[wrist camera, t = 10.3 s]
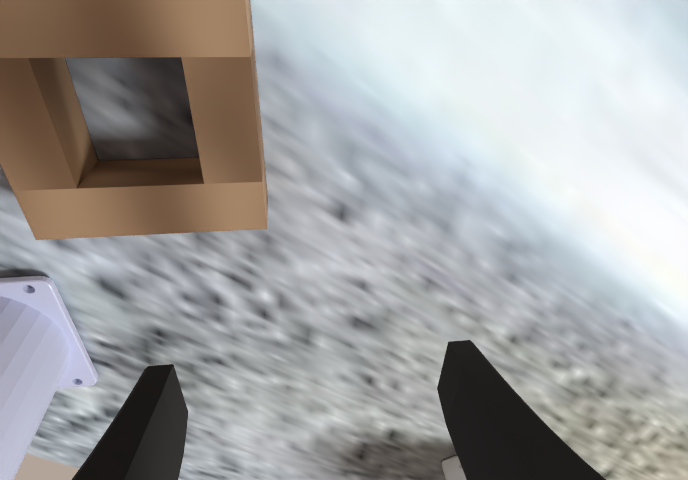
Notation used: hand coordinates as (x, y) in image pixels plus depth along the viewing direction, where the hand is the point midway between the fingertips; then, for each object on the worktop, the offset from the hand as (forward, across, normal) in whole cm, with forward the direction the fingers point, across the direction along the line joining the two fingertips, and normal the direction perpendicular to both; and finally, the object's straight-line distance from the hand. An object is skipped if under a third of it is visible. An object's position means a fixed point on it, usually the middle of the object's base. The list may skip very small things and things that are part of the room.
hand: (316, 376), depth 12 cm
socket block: (+10, +6, -4) cm, 13 cm away
